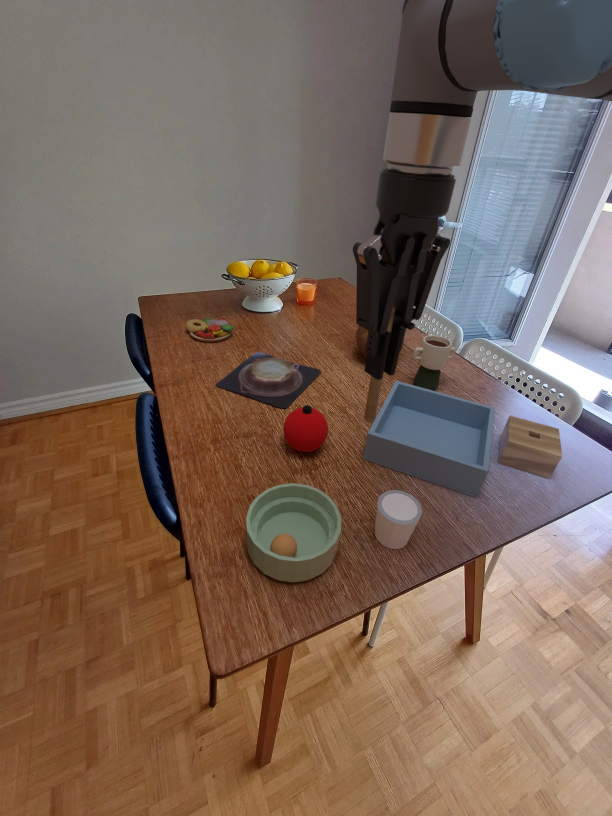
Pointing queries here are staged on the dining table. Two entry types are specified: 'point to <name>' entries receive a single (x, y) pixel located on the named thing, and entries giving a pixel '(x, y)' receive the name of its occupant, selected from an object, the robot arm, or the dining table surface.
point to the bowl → (293, 531)
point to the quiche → (269, 379)
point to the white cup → (396, 518)
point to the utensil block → (530, 447)
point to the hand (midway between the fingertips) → (379, 372)
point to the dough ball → (284, 545)
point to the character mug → (432, 360)
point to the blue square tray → (433, 437)
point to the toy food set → (209, 329)
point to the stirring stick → (375, 386)
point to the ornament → (305, 429)
